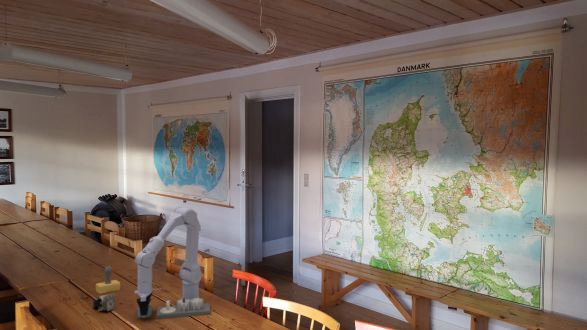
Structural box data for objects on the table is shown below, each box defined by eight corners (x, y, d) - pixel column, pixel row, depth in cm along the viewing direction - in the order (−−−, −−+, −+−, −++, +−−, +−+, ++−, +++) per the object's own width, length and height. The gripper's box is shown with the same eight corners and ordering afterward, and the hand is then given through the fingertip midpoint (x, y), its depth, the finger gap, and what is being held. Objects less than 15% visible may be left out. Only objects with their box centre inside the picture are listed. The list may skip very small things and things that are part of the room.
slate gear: (138, 313, 182) (138, 305, 182) (152, 312, 183) (152, 304, 183) (136, 318, 176) (136, 310, 176) (151, 317, 178) (151, 309, 177)
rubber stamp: (99, 294, 204) (99, 269, 203) (95, 291, 208) (95, 266, 208) (120, 289, 211) (120, 265, 210) (116, 286, 215) (116, 263, 214)
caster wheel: (99, 309, 192) (121, 306, 192) (86, 313, 181) (108, 311, 180) (99, 294, 193) (120, 291, 193) (85, 297, 182) (108, 294, 182)
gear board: (157, 310, 185) (157, 295, 185) (209, 306, 191) (209, 291, 191) (156, 318, 177) (156, 302, 176) (210, 314, 182) (210, 298, 182)
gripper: (136, 275, 185) (136, 306, 186) (132, 286, 171) (132, 319, 172) (153, 274, 187) (153, 305, 187) (151, 285, 173) (151, 318, 173)
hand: (144, 312), depth 180 cm, fingers closed on slate gear, 6 cm apart
